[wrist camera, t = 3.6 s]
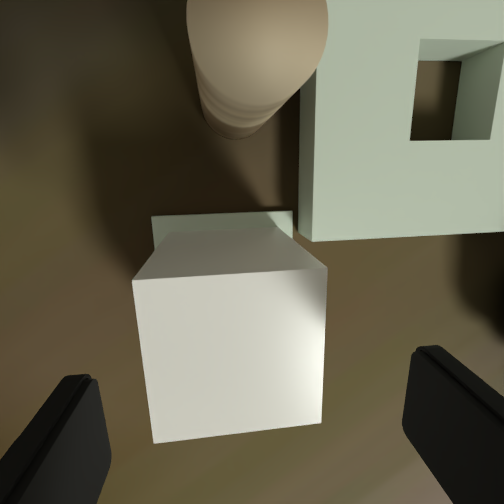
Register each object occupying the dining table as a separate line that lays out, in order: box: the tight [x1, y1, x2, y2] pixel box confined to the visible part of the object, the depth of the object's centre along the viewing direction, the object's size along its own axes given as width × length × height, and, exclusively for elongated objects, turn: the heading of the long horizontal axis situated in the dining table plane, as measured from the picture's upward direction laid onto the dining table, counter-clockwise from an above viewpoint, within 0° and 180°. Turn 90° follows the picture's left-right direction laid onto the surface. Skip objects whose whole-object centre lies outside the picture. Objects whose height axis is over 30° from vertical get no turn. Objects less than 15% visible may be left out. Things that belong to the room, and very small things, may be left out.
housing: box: [132, 227, 328, 444], centre depth 16 cm, size 7×7×9 cm
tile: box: [151, 210, 293, 250], centre depth 19 cm, size 9×9×3 cm
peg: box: [186, 0, 328, 140], centre depth 13 cm, size 4×4×10 cm
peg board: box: [298, 0, 504, 242], centre depth 18 cm, size 16×16×3 cm
